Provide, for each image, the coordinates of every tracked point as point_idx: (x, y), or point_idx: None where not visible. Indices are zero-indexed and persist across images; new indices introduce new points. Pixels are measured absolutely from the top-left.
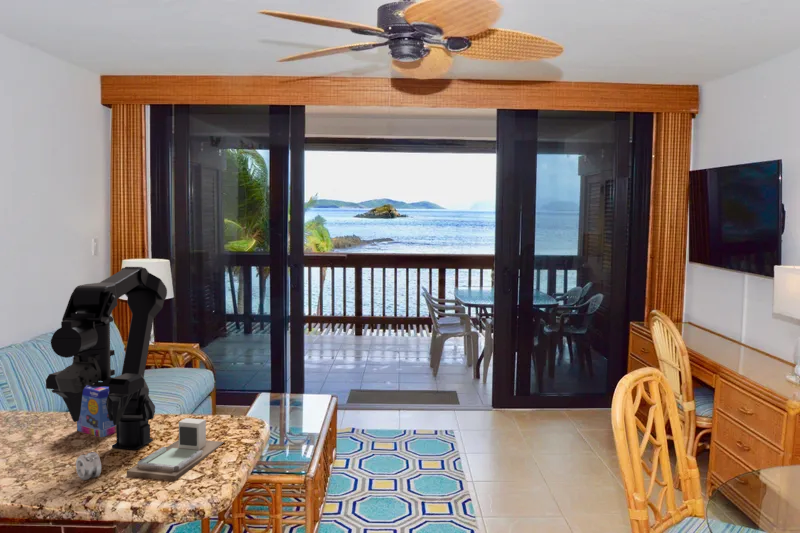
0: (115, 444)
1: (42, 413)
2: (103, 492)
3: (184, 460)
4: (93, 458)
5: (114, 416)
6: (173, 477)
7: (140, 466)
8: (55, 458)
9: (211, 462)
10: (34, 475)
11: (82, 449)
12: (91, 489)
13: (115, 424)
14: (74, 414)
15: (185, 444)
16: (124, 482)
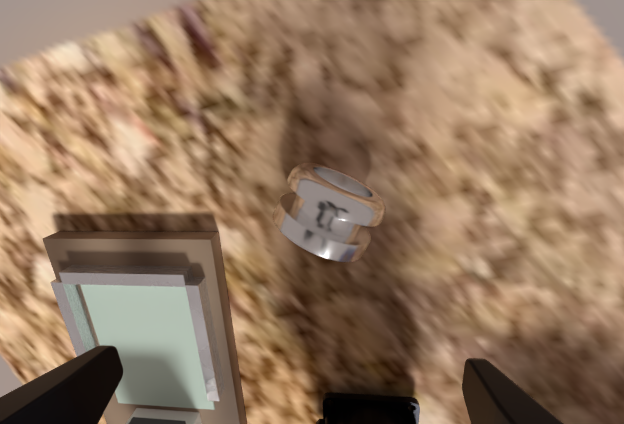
0: (412, 413)
1: None
2: (194, 106)
3: (72, 322)
4: (298, 218)
5: (17, 397)
6: (53, 236)
7: (182, 270)
8: (574, 310)
9: None
10: (554, 166)
11: (523, 385)
12: (251, 116)
13: (94, 348)
14: (501, 418)
15: (165, 421)
16: (192, 193)
